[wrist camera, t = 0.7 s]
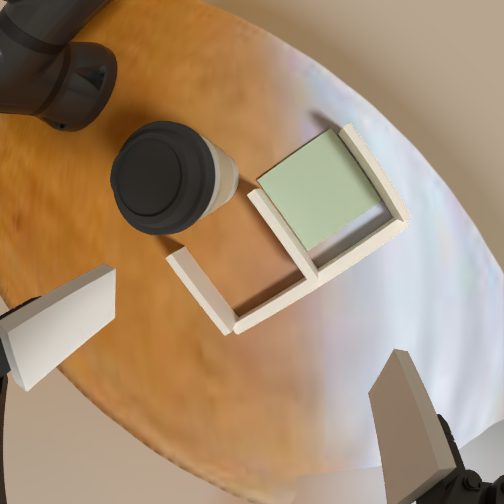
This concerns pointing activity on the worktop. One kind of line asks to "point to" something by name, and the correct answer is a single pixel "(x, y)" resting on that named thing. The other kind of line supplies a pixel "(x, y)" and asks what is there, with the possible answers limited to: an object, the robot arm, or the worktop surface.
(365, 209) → the pad
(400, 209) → the e-shaped divided frame
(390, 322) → the worktop surface
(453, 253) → the worktop surface
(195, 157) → the coffee cup
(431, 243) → the worktop surface
